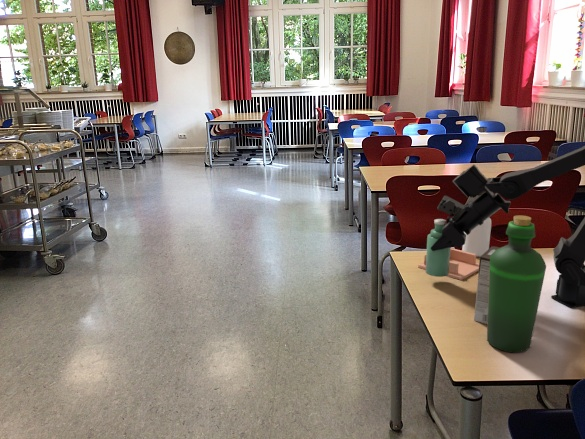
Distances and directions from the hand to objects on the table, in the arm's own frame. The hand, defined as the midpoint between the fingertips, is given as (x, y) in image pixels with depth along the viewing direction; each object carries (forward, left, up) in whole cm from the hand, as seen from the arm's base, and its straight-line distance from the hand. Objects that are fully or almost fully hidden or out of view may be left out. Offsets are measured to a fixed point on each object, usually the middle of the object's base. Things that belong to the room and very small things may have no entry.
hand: (433, 245), depth 134 cm
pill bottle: (+16, -26, -11) cm, 32 cm away
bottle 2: (-34, +3, -11) cm, 36 cm away
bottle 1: (-1, -1, -8) cm, 8 cm away
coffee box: (-23, -2, -11) cm, 26 cm away
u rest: (+7, -12, -11) cm, 17 cm away
